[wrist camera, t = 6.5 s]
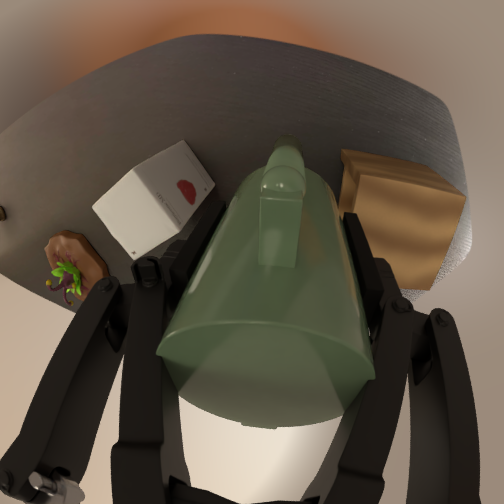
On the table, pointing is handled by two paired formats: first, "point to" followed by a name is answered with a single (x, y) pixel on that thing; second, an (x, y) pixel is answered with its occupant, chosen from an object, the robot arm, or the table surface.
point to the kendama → (2, 214)
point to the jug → (273, 306)
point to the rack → (401, 213)
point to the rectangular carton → (154, 199)
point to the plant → (74, 264)
